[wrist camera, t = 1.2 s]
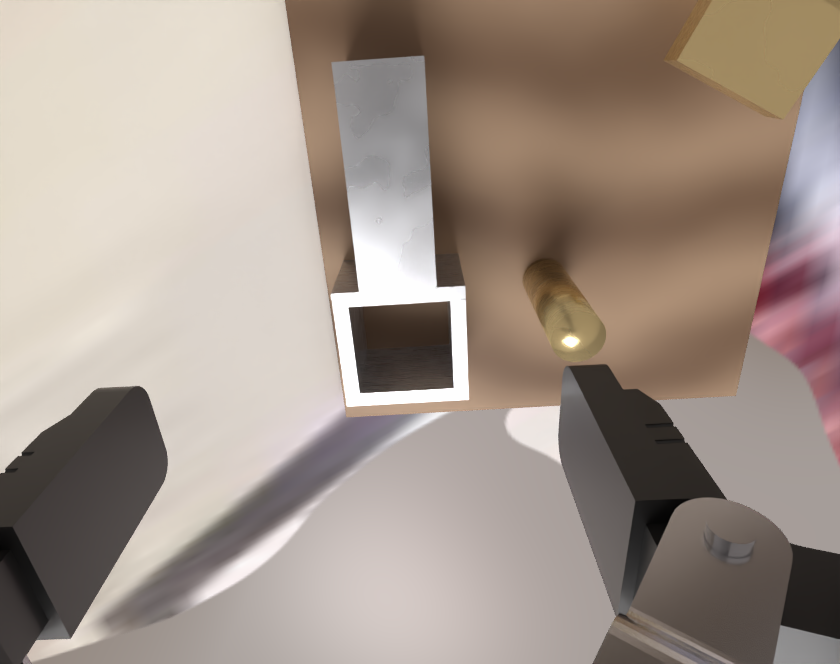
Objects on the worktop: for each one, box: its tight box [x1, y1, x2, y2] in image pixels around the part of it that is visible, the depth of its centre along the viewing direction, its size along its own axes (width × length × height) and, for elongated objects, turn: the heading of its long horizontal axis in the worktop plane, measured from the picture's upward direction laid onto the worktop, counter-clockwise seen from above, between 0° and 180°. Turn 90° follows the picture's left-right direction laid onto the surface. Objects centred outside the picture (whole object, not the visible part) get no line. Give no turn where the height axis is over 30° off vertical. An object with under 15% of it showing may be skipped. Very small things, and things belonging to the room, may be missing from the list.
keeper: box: [664, 0, 840, 119], centre depth 18 cm, size 5×4×6 cm
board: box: [285, 0, 804, 417], centre depth 25 cm, size 20×20×1 cm
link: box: [331, 56, 469, 406], centre depth 22 cm, size 13×5×4 cm, turn 4°
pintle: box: [522, 258, 606, 362], centre depth 23 cm, size 2×2×6 cm
